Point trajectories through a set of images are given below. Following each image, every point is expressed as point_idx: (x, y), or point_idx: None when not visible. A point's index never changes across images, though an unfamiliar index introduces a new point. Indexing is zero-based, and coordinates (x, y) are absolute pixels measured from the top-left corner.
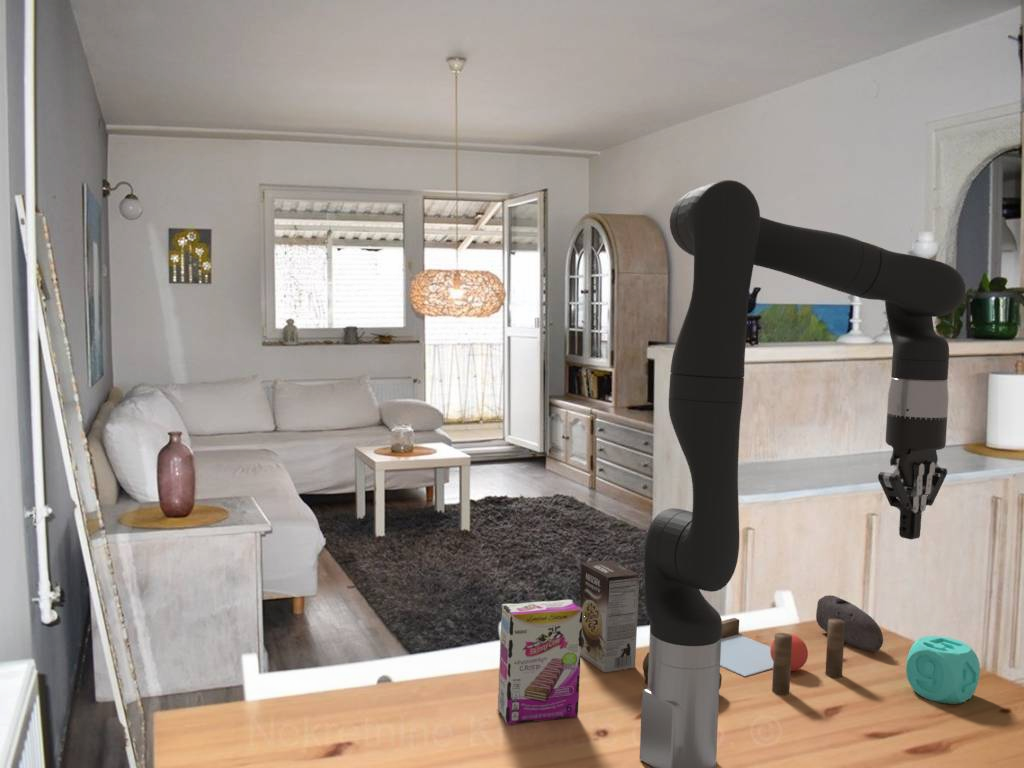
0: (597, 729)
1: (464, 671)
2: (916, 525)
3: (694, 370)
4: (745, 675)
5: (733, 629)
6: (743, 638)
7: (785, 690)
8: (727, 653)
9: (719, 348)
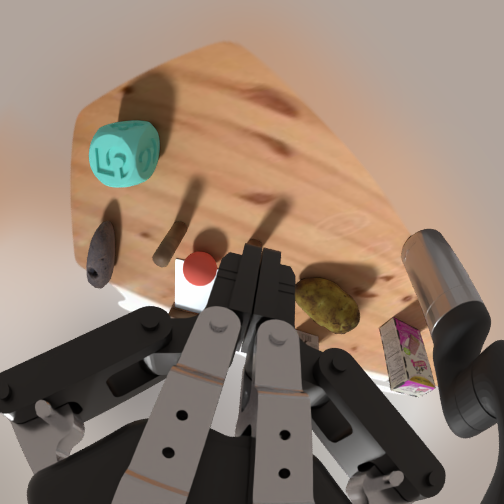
0: (404, 302)
1: (364, 370)
2: (267, 277)
3: None
4: None
5: (176, 312)
6: (179, 302)
7: (257, 242)
8: None
9: None
